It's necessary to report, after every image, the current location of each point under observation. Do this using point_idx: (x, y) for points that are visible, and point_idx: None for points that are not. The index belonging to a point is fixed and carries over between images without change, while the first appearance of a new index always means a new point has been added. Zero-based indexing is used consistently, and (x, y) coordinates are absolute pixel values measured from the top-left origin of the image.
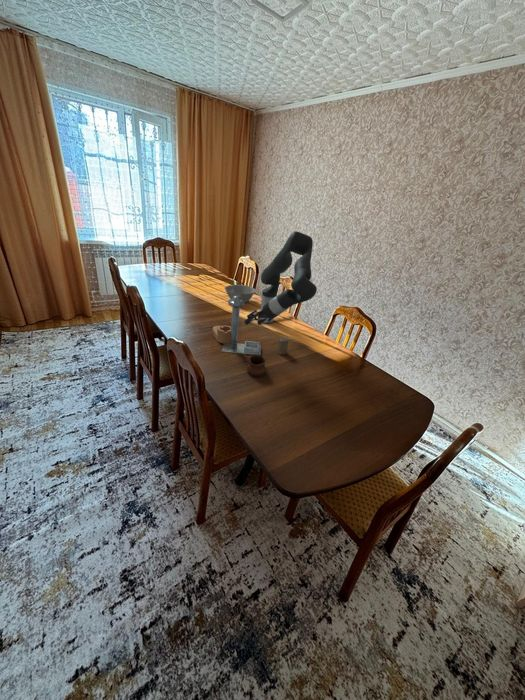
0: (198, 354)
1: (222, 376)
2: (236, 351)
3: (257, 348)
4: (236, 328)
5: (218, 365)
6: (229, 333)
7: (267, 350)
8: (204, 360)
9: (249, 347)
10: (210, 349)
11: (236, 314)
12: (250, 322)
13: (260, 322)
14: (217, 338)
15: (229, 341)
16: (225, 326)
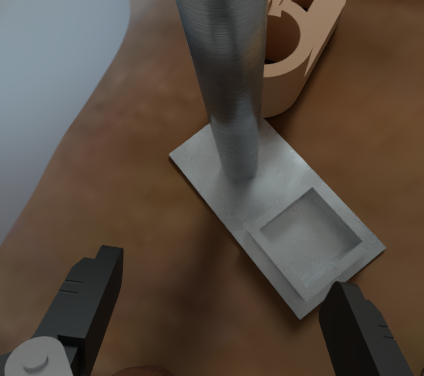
0: (81, 114)
1: (10, 316)
2: (219, 203)
3: (301, 291)
4: (224, 128)
5: (68, 236)
6: None
7: (380, 308)
8: (61, 166)
9: (271, 248)
10: (148, 111)
11: (199, 44)
12: (93, 356)
13: (336, 347)
14: None
15: None
16: (290, 16)
